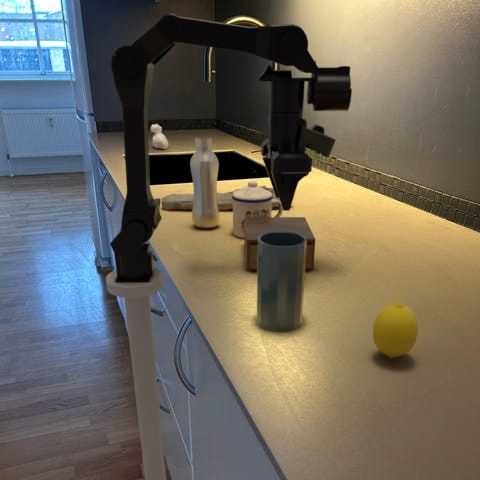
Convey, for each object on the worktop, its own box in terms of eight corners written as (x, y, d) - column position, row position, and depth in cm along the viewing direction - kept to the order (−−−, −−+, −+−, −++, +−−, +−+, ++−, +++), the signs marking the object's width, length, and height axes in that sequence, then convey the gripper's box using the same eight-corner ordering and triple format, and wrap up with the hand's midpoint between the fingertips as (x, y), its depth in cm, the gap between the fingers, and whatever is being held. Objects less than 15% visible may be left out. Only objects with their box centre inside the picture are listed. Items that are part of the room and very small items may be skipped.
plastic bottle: (208, 221, 125) (206, 135, 116) (225, 227, 121) (224, 138, 111) (186, 226, 122) (182, 137, 112) (203, 232, 117) (200, 141, 108)
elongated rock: (164, 207, 141) (161, 219, 133) (161, 188, 139) (159, 199, 130) (289, 198, 142) (295, 210, 134) (289, 179, 140) (295, 190, 131)
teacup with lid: (240, 241, 111) (239, 187, 106) (226, 230, 119) (225, 179, 113) (290, 235, 115) (292, 183, 109) (274, 224, 122) (275, 175, 117)
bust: (160, 151, 233) (143, 131, 228) (173, 140, 231) (156, 119, 226) (160, 155, 222) (142, 134, 217) (173, 144, 221) (156, 122, 216)
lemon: (361, 357, 68) (368, 303, 64) (383, 343, 72) (391, 290, 68) (398, 373, 65) (408, 317, 61) (420, 357, 68) (430, 303, 64)
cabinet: (313, 270, 96) (315, 239, 93) (246, 270, 96) (246, 239, 93) (303, 245, 109) (304, 217, 106) (244, 245, 109) (244, 217, 106)
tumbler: (257, 331, 75) (259, 246, 69) (255, 311, 81) (256, 231, 75) (304, 331, 75) (309, 246, 69) (298, 310, 81) (303, 231, 75)
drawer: (314, 276, 91) (316, 254, 89) (250, 277, 91) (251, 254, 89) (302, 244, 107) (303, 224, 105) (247, 244, 107) (247, 224, 105)
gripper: (347, 116, 78) (338, 217, 85) (321, 106, 94) (315, 191, 102) (275, 117, 77) (272, 218, 84) (261, 106, 94) (260, 192, 101)
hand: (282, 203), depth 93 cm, fingers open, 9 cm apart
